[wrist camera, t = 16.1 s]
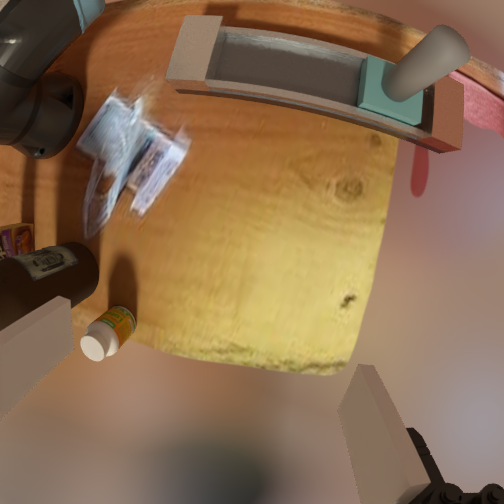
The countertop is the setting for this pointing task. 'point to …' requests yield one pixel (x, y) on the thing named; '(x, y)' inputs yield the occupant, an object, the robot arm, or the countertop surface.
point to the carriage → (410, 75)
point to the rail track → (302, 79)
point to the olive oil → (45, 279)
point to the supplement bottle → (108, 333)
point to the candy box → (16, 239)
